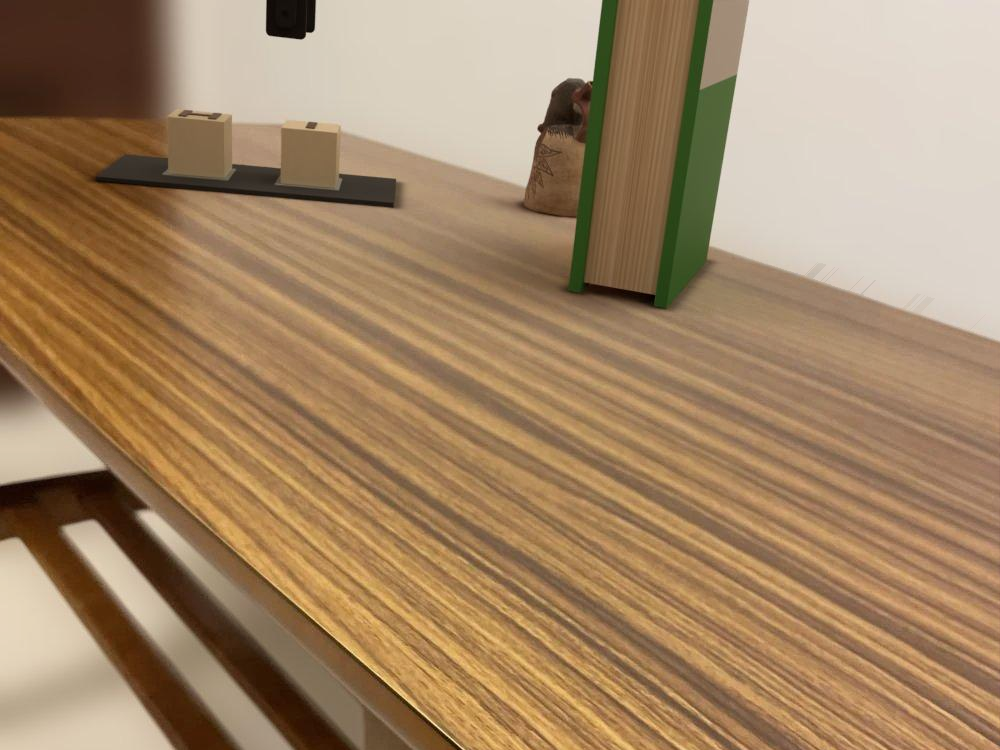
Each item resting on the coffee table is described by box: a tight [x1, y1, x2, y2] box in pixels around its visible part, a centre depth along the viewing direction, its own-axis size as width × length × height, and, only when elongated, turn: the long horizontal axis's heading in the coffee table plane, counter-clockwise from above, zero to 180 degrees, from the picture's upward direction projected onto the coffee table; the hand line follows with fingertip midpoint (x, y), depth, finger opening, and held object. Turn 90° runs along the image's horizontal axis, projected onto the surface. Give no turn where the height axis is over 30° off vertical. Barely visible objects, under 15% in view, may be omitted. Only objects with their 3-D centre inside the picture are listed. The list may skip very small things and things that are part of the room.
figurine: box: [523, 77, 593, 218], centre depth 116 cm, size 7×7×12 cm
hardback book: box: [567, 0, 750, 309], centre depth 93 cm, size 18×7×24 cm, turn 163°
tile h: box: [166, 108, 233, 179], centre depth 113 cm, size 5×5×5 cm
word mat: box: [95, 153, 397, 208], centre depth 115 cm, size 26×12×1 cm, turn 95°
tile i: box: [280, 119, 342, 188], centre depth 114 cm, size 5×5×5 cm
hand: (291, 34), depth 105 cm, fingers open, 9 cm apart
